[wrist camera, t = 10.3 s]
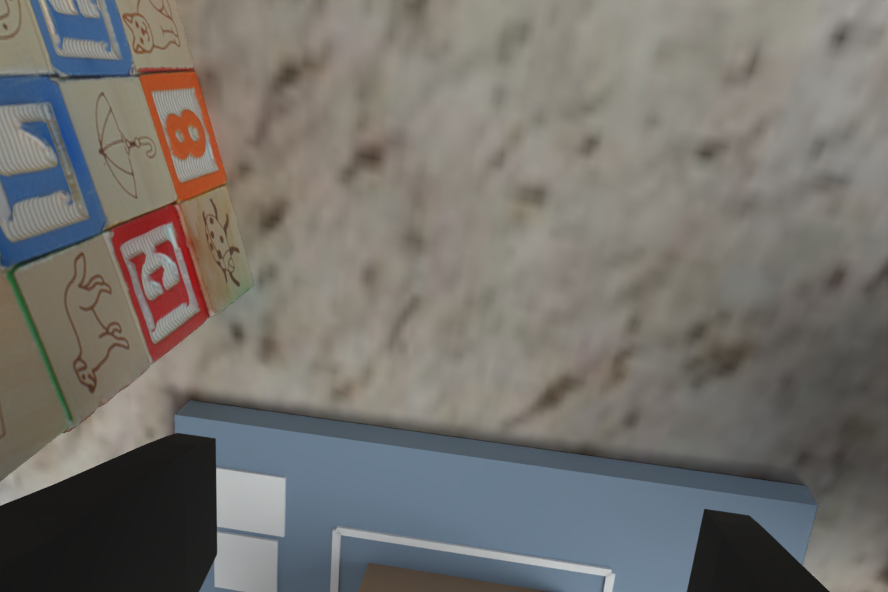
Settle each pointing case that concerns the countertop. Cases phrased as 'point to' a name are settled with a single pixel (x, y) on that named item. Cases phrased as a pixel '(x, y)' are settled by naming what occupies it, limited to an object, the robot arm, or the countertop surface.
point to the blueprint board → (456, 511)
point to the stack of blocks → (101, 209)
